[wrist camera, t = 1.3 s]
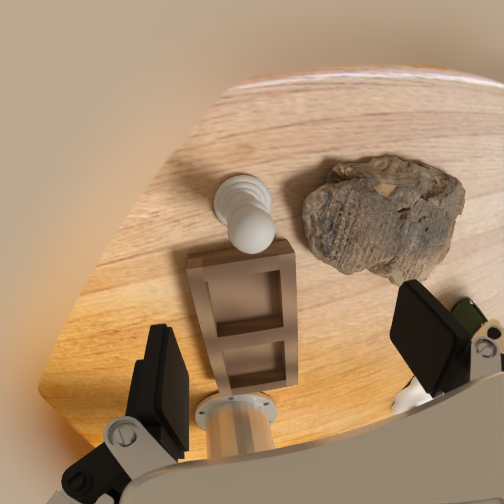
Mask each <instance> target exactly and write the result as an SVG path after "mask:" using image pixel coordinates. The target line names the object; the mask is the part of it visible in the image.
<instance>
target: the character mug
mask: <svg viewBox="0 0 504 504" xmlns="http://www.w3.org/2000/svg"><path fill="white" fill-rule="evenodd" d="M470 300H471V299H470ZM471 301H472V300H471ZM472 302H473V301H472ZM452 315H453V316H454V317H455V318H456V319H457V320H458V322H459V323H460V324H461V325H462V326H463V327H464V328H465V329H466V330H467V331H468V332H469V333H470V334H471V337H470V340H471V341H473V340H474V339H475V338H476V337H479V336H486V337H489V338H491V339H493V340H494V341H495V342H496V343H497V344H498V346H499V348H500V353H502V354H504V328H503V327H502V326H501V324H500V322H499V321H497V320H495V319H491V320H489V321H488V320H487V318H486V317H485V316H484V314H483V313H482V312H481V310H480V309H479V308H478V307H477V306H476V304H475V303H474V302H473V304H470V303H469V302H468V300H467V299H465V300H463V301H462V302H460V303H459V304H458V305H457V306H456V307H455V308H454V309H453V312H452Z"/></svg>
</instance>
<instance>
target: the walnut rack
mask: <svg viewBox="0 0 504 504" xmlns="http://www.w3.org/2000/svg"><path fill="white" fill-rule="evenodd" d="M186 273H187V277H188V281H189V286H190V290H191V294H192V298H193V301H194V305H195V309H196V313H197V317H198V321H199V324H200V328H201V332H202V335H203V339H204V343H205V346H206V350H207V353H208V357H209V360H210V363H211V367H212V370H213V373H214V377H215V380H216V383H217V387H218V390H219V393H220V396H221V397H228V396H235V395H242V394H248V393H255V392H261V391H266V390H272V389H277V388H283V387H288V386H293V385H297V384H298V328H297V288H296V262H295V252H294V250H293V248H292V247H291V245H290V243H289V242H288V240H283V241H276V242H271V244H270V245H269V246H268V247H267V248H266V249H265V250H263V251H262V252H259V253H256V254H248V253H244V252H242V251H240V250H238V249H237V248H230V249H223V250H217V251H210V252H204V253H197V254H191V255H188V256H187V263H186Z"/></svg>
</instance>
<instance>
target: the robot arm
mask: <svg viewBox="0 0 504 504" xmlns="http://www.w3.org/2000/svg"><path fill="white" fill-rule="evenodd" d="M470 337H471V334H470V333H469V332H468V331H467V330H466V329H465V328H464V327H463V326H462V325H461V324H460V323H459V322H458V320H457V319H456V318H455V317H454V316H453V315H452V314H451V313H450V312H449V311H448V310H447V309H446V308H445V307H444V306H443V305H442V304H441V303H440V302H439V301H438V300H437V299H436V298H435V297H434V296H433V295H432V294H431V293H430V292H429V291H428V290H427V289H426V288H425V287H424V286H423V285H422V284H421V283H420V282H419V281H418V280H416V279H412V280H408V281H404V282H403V283H402V285H401V286H400V287H399V291H398V297H397V302H396V307H395V312H394V316H393V321H392V325H391V329H390V339H391V341H392V343H393V344H394V345H395V347H396V348H397V350H398V351H399V353H400V354H401V356H402V357H403V359H404V360H405V362H406V363H407V365H408V366H409V368H410V369H411V371H412V372H413V374H414V375H415V377H416V378H417V380H418V381H419V383H420V384H421V386H422V387H423V389H424V391H425V392H426V393H427V394H430V395H431V397H432V399H433V400H430V401H428V402H426V403H424V404H421V405H419V406H417V407H414V408H412V409H410V410H407V411H405V412H402V413H400V414H397V415H394V416H392V417H389V418H386V419H384V420H381V421H378V422H375V423H372V424H369V425H366V426H363V427H360V428H357V429H354V430H351V431H347V432H344V433H341V434H337V435H334V436H330V437H326V438H322V439H318V440H314V441H310V442H306V443H302V444H297V445H293V446H288V447H283V448H278V449H275V445H274V441H273V436H272V432H271V427H270V425H271V424H272V423H273V421H274V420H275V419H276V417H277V406H276V404H275V402H274V400H273V399H272V398H270V397H269V396H267V395H265V394H263V393H260V392H255V393H248V394H242V395H235V396H228V397H221V396H220V393H217V394H214V395H211V396H209V397H207V398H205V399H204V400H203V401H201V402H200V403H199V405H198V406H197V408H196V410H195V420H196V423H197V424H198V425H199V427H200V428H202V429H203V430H205V431H206V444H207V459H202V460H194V461H188V462H182V463H178V459H184V451H189V375H188V371H187V369H186V366H185V363H184V361H183V358H182V355H181V352H180V350H179V347H178V344H177V341H176V338H175V335H174V332H173V329H172V327H167V325H166V324H157V325H151V326H150V330H149V335H148V340H147V345H146V350H145V355H144V359H143V360H137V361H136V363H135V367H134V372H133V376H132V381H131V387H130V392H129V397H128V403H127V409H126V414H125V416H122V417H117V418H115V419H113V420H112V421H110V422H109V423H108V424H107V426H106V427H105V429H104V433H103V438H104V441H105V442H103V443H102V444H101V445H99V446H98V447H97V448H95V449H94V450H93V451H91V452H90V453H88V454H87V455H86V456H84V457H83V458H82V459H80V460H79V461H77V462H76V463H74V464H73V465H72V466H70V467H69V468H68V469H67V470H66V471H65V472H64V474H63V476H62V480H61V482H62V489H61V490H60V492H58V491H55V493H54V494H53V495H52V497H51V498H50V499H49V501H48V502H47V503H46V504H504V354H502V353H500V348H499V346H498V344H497V343H496V342H495V341H494V340H493V339H491V338H489V337H486V336H479V337H476V338H475V339H474V340H473V341H471V340H470ZM443 393H444V394H443ZM442 394H443V395H442ZM440 395H441V396H440ZM438 396H439V397H438ZM436 397H437V398H436ZM434 398H435V399H434Z"/></svg>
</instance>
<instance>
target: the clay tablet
mask: <svg viewBox="0 0 504 504" xmlns="http://www.w3.org/2000/svg"><path fill="white" fill-rule="evenodd" d="M325 178H326V180H327V182H328V183H326V184H323V186H321V187H319V188H318V189H316V190H315V191H313V192H312V193H310V194H309V195H308V196H307V197H306V198H305V200H304V202H303V205H302V220H303V221H304V222H305V224H304V232H305V237H307V238H308V245H309V247H310V251H311V252H312V253H313V254H314V255H315V256H316V257H317V259H318V260H321V261H323V262H324V263H326V264H329V265H331V266H333V267H334V268H336V269H337V270H338V271H339V272H341V273H343V274H345V275H352V274H353V273H354V272H360V271H362V270H364V269H365V268H367V269H368V270H369V271H371V272H372V273H374V274H377V275H380V276H382V277H384V278H389V280H390V282H391V283H392V284H394V285H397V286H401V285H402V283H403V282H404V281H408V280H412V279H416V280H418V281H419V282H421V281H425V280H426V279H427V278H428V276H429V275H430V273H431V272H432V270H433V269H434V267H435V266H436V265H438V264H439V263H440V262H442V260H443V259H444V258H445V256H446V254H447V253H448V251H449V248H450V242H451V239H452V235H453V231H454V225H455V222H456V221H455V219H456V217H457V216H458V215H461V213H462V211H463V207H464V203H465V198H464V196H465V190H464V188H463V187H462V183H461V182H460V181H459V180H458V179H457V178H456V177H453V176H451V175H449V174H442V172H441V171H439V170H438V169H435V168H433V167H431V166H428V165H425V164H420V166H419V165H417V164H416V163H411V162H407V161H402V160H400V159H398V158H397V157H395V156H383V157H379V158H375V157H372V158H371V159H370V161H369V162H368V163H353V162H351V163H347V164H344V163H337V164H336V165H335V166H334V167H333V168H332V169H331V170H330V172H329V173H328V175H327V176H326V177H325Z"/></svg>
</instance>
